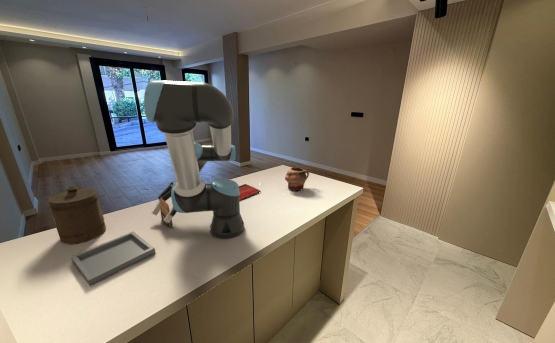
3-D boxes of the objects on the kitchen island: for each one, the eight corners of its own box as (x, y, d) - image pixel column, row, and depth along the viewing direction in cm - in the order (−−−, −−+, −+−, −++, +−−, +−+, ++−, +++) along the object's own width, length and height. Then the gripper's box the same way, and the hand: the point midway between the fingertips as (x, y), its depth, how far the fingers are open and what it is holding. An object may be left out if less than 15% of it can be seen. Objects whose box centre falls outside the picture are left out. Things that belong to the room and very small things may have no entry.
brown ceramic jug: (300, 182, 162) (302, 164, 158) (313, 187, 153) (315, 168, 149) (280, 188, 150) (280, 169, 145) (292, 194, 141) (293, 173, 137)
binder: (220, 192, 137) (245, 183, 152) (220, 195, 138) (245, 186, 153) (237, 200, 127) (262, 190, 143) (237, 204, 128) (262, 193, 144)
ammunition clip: (161, 219, 107) (158, 197, 104) (165, 218, 108) (162, 196, 105) (168, 228, 100) (165, 204, 96) (173, 227, 101) (169, 203, 97)
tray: (155, 253, 84) (154, 247, 83) (90, 286, 68) (88, 280, 68) (134, 236, 94) (133, 231, 93) (72, 262, 78) (70, 256, 77)
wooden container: (82, 224, 101) (70, 179, 95) (114, 225, 101) (104, 180, 95) (50, 244, 87) (32, 192, 81) (86, 245, 87) (72, 194, 80)
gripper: (207, 185, 105) (179, 228, 97) (179, 175, 117) (153, 213, 110) (196, 178, 99) (166, 223, 91) (168, 168, 111) (140, 207, 104)
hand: (159, 217), depth 101 cm, fingers closed on ammunition clip, 10 cm apart
